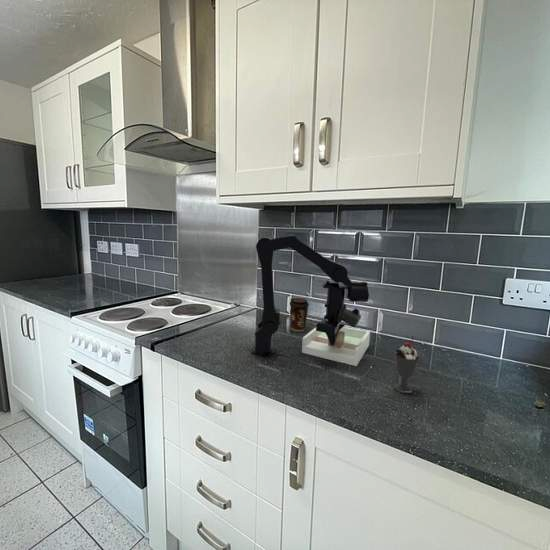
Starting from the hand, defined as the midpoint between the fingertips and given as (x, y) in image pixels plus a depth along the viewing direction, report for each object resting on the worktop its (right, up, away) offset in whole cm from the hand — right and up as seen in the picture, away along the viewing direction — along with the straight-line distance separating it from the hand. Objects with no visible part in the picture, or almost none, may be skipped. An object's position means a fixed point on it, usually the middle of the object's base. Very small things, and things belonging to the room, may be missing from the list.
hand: (332, 345), depth 102 cm
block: (+2, -1, +4) cm, 4 cm away
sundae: (+16, -8, -20) cm, 26 cm away
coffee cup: (-10, +1, +26) cm, 28 cm away
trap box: (+3, -3, +6) cm, 7 cm away
